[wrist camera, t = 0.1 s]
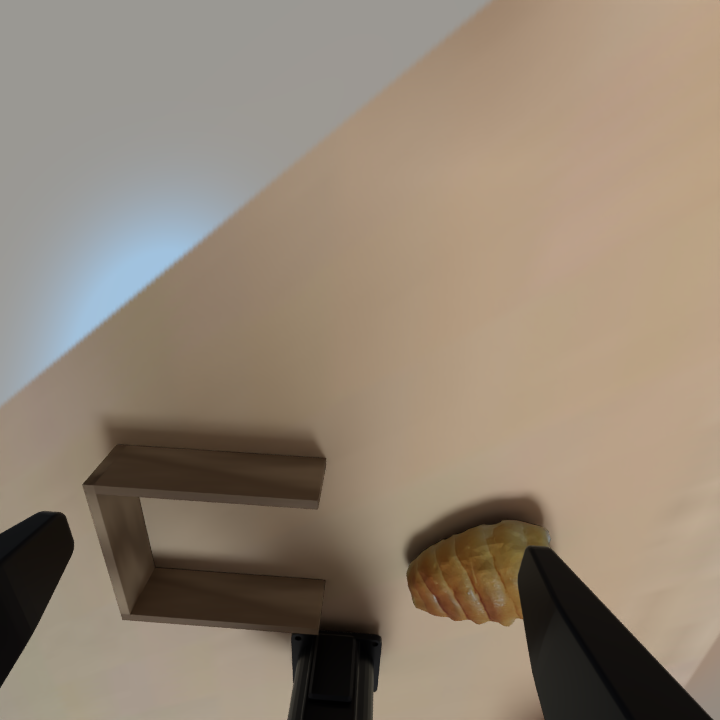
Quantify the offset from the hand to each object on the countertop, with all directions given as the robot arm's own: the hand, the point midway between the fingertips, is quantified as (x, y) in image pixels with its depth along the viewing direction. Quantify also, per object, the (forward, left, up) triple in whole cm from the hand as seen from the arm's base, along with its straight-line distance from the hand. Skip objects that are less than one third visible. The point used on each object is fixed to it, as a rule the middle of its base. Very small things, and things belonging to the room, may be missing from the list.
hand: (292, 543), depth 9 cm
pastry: (-16, -6, -16) cm, 23 cm away
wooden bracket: (-16, +7, -15) cm, 23 cm away
